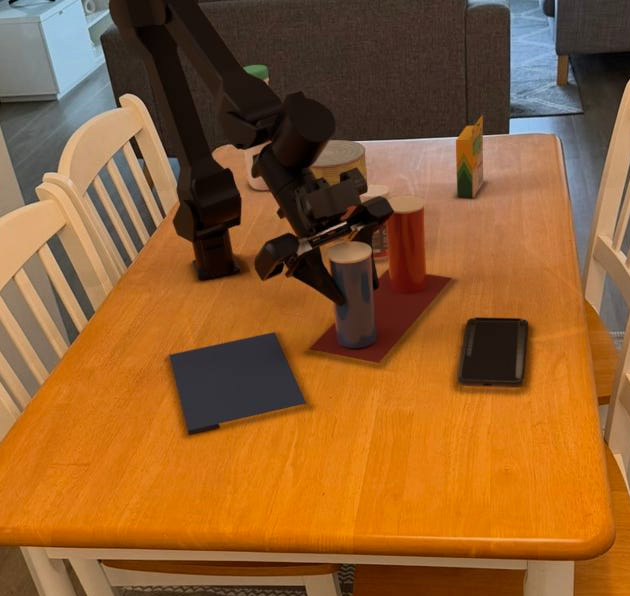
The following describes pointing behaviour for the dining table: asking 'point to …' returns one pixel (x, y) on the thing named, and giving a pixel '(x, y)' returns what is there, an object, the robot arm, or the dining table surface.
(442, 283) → the red mat
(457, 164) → the crayon box
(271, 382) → the blue mat
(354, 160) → the canned food
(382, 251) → the pill bottle
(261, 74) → the milk bottle
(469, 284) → the dining table surface
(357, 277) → the blue canister
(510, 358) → the phone
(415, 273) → the red canister
